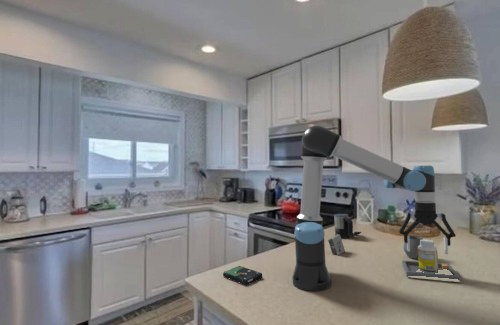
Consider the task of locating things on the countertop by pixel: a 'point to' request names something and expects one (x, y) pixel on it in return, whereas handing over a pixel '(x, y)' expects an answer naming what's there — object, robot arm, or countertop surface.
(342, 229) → the milk frother
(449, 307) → the countertop surface
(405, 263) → the grey tray
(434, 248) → the supplement bottle
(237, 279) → the disk drive
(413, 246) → the cup
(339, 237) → the electrical switch
